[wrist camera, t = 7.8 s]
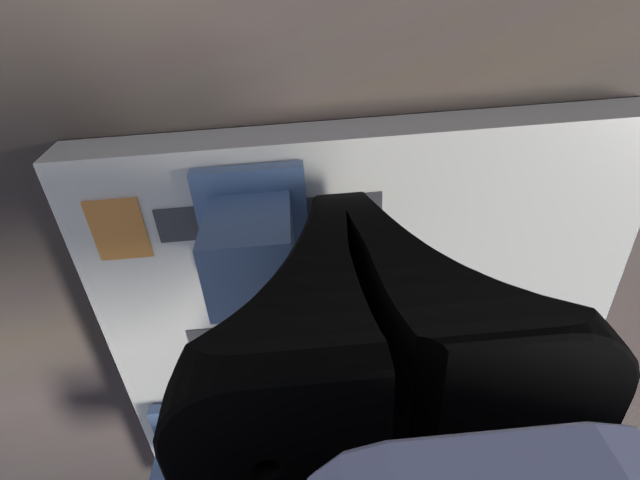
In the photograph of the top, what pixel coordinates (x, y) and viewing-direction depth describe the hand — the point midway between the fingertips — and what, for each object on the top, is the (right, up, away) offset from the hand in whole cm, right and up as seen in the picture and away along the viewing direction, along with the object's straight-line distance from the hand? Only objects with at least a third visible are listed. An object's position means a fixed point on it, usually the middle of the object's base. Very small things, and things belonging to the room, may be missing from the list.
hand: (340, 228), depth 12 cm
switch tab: (-2, 0, +1) cm, 2 cm away
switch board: (+1, -3, +5) cm, 6 cm away
